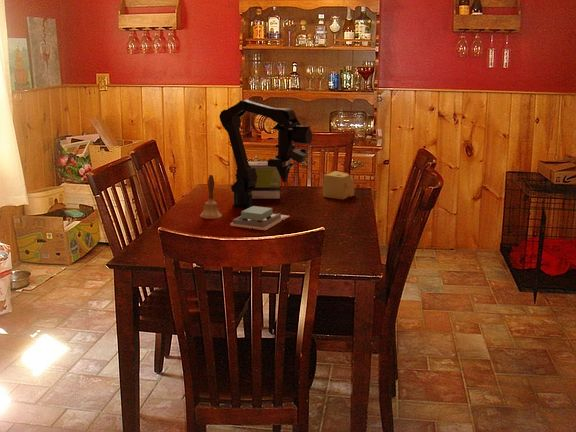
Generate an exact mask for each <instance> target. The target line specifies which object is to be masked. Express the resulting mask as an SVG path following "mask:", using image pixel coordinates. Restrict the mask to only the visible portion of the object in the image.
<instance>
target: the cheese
mask: <svg viewBox="0 0 576 432" xmlns="http://www.w3.org/2000/svg"><path fill="white" fill-rule="evenodd" d="M322 180H323V181H322V195H323V196H322V197H324V198H329V199H330V198H331V199H336V200H337V199H338V200H345V199H347V198H350V197H353V196H354V195H355V188H354V184H355V180H354V177H353V178H352V175H351V174H349V173H347V172H343V171H342V172H341V171H338V170H337V171H336V170H334V171H332V172H329V173H326V174H324V175H323V179H322Z"/></svg>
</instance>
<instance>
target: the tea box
mask: <svg viewBox="0 0 576 432" xmlns="http://www.w3.org/2000/svg"><path fill="white" fill-rule="evenodd" d="M248 163H249V165H250V167H251V168H255V169H256V174H257V176H258V177H257V182H256V184H255V185H254V187H253V189H252V190H250V191H251V194H252V200H253V199H254V200H255V199H259V200H260V199H262V200H263V199H266V200H267V199H269V200H272V199H274V200H275V199H277V200H280V198H281V185H280V184H281V176H280V174H279V172H278V170H277V168H276V167H271V166H267V163H268V161H248Z"/></svg>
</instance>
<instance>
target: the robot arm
mask: <svg viewBox="0 0 576 432" xmlns="http://www.w3.org/2000/svg"><path fill="white" fill-rule="evenodd" d="M247 112H248V113H252V114H255V115H258V116H261V117H266V118H269V119H271V121H273V123H276V125H275V126H273V128H272V130H276V131H277V144H275V148H277V154H276V155H275V157H272V158H269V159H268V160H267V162H268V163H267V166H271V167H276V168H277V170H278V172H279V174H280V179H281V180H282V182H283V183H286V182H287V180H288V176H289V174H290V170H291V168H293V167H294V166H295V165H296V163H298V164H302V163H305V160H306V158H308V149H307V148H304V147H303V148H301V149H297V148H296V144H304V145H310V144H311V143H312V141H313V132H312V130H311V126H310V125H301V123H300V121H299V120H298V118H297V116H296V112H295V111H294V109H292V108H289V107H288V108H285V107H272V106H270V105H265V104H261V103H258V102H256V101H251V100H249V99H242V100H239V102H237V103H236V104H234V105H232V106H231V107H229V108H227V109H223V110H222V111H220V113H219V116H218V117H219V118H218V119H219V121H220V123H221V125H222V127H223V129H224V130H225V131H226V132H227V134H228V138H229V143H230V146H231V148H232V154H233V157H234V160H235V165H236V172H235V180H236V181H235V182H234V183H233V184H232V185H231V186H230V189H231V192H232V193H233V204H232V205H231V206H232V207H239V208H246V209H248V208H250V207H252V206H254V203H253V199H252V194H251V191H250V190H252V189H253V187H254V185H255V184H256V182H257V177H258V176H257V174H256V169H255V168H251V167H250V165H249V163H248V162H249V161H248V156H247V151H246V148H245V146H244V141H243V137H242V133H241V125H242V119H241V118H242V117H243V116H244V115H245V114H246V113H247ZM293 143H295V144H293ZM293 161H295V162H296V163H293Z"/></svg>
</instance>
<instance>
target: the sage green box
mask: <svg viewBox="0 0 576 432" xmlns="http://www.w3.org/2000/svg"><path fill="white" fill-rule="evenodd" d="M272 214H274V213H273V207H265V206H258V205H257V206H256V205H251V206H249V207H247V208H246V209H244V210H241V211H240V216H241V218H243V219H242V220H246V221H248V219H252V220H258V221H257V222H263V221H262V220H263V219H265V218H266V219H269V218H271V215H272Z"/></svg>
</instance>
